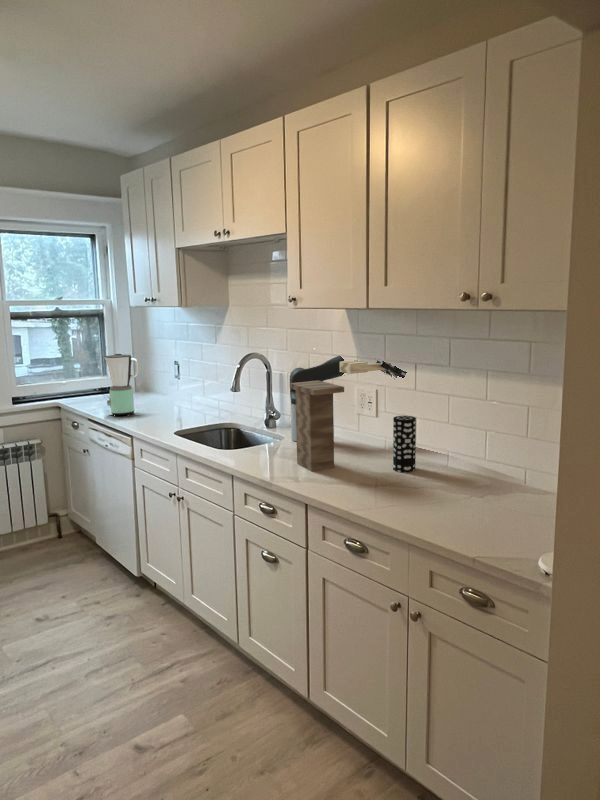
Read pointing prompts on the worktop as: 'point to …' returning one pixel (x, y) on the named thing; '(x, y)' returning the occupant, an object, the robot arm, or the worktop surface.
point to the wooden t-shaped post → (315, 423)
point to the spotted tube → (404, 443)
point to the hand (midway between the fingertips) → (378, 363)
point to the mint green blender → (121, 384)
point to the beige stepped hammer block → (359, 367)
